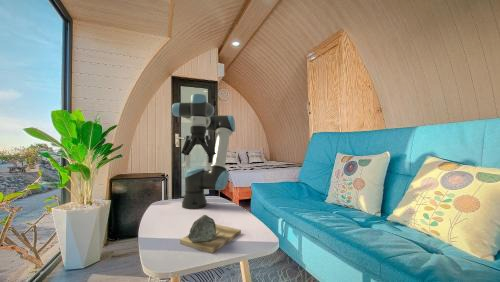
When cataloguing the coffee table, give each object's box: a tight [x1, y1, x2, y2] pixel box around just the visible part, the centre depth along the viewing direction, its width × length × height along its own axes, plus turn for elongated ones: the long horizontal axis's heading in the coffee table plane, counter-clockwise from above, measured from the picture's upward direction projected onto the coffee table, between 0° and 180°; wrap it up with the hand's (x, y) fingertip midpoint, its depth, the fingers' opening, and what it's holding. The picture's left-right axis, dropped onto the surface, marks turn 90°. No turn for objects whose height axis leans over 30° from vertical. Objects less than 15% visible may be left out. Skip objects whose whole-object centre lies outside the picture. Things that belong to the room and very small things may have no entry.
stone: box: [186, 214, 216, 242], centre depth 87 cm, size 10×10×10 cm
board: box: [179, 223, 242, 254], centre depth 91 cm, size 20×16×2 cm
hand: (197, 168), depth 108 cm, fingers open, 13 cm apart
